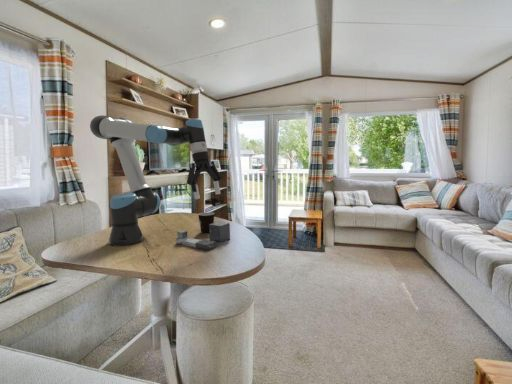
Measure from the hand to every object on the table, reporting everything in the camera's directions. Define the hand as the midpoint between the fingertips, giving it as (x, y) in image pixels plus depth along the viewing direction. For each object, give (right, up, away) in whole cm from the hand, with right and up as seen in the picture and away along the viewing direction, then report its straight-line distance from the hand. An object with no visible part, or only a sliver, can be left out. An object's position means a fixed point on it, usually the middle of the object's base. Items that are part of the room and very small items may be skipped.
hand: (208, 196), depth 137 cm
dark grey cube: (+5, -21, +5) cm, 22 cm away
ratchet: (-6, -22, -4) cm, 24 cm away
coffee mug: (-4, -20, +22) cm, 29 cm away
